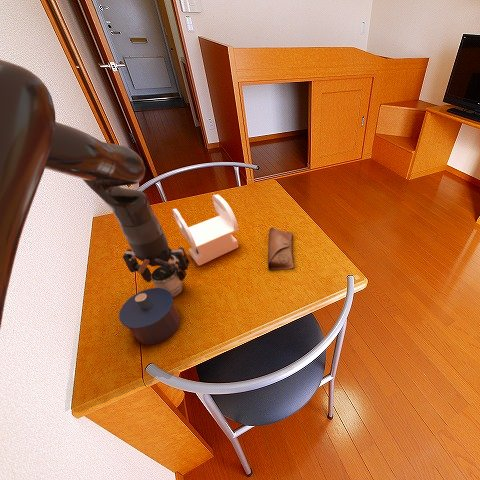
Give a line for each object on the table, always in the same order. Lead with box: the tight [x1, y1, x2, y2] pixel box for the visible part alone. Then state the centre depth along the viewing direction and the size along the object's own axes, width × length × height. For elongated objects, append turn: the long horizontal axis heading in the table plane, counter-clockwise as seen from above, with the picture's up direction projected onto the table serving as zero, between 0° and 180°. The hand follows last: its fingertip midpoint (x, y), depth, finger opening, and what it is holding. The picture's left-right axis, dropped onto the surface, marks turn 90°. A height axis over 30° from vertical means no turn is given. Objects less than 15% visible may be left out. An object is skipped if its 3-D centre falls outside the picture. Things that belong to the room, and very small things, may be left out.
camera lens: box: [151, 266, 183, 298], centre depth 76 cm, size 6×6×8 cm
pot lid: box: [118, 287, 174, 329], centre depth 64 cm, size 11×11×5 cm
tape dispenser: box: [171, 193, 240, 267], centre depth 86 cm, size 14×13×18 cm
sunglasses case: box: [267, 227, 295, 271], centre depth 91 cm, size 18×7×7 cm
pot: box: [128, 302, 181, 345], centre depth 67 cm, size 10×10×8 cm
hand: (166, 279), depth 75 cm, fingers open, 8 cm apart
